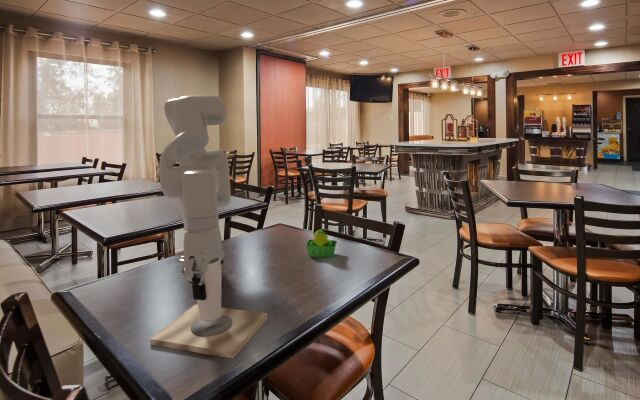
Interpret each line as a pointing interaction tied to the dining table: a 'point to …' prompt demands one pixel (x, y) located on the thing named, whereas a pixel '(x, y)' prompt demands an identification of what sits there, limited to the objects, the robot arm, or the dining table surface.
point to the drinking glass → (211, 293)
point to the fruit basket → (321, 245)
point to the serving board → (210, 332)
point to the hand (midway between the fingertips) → (208, 292)
